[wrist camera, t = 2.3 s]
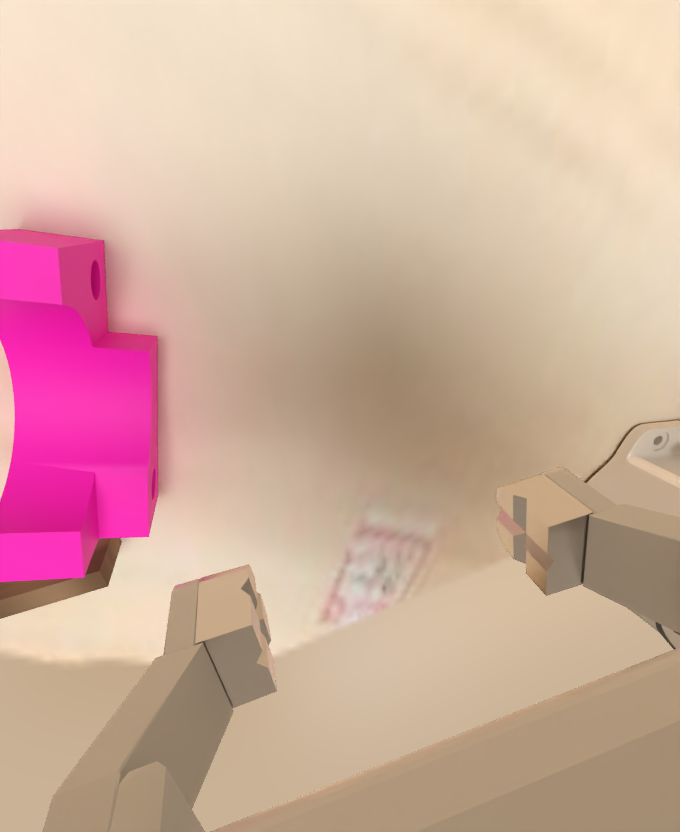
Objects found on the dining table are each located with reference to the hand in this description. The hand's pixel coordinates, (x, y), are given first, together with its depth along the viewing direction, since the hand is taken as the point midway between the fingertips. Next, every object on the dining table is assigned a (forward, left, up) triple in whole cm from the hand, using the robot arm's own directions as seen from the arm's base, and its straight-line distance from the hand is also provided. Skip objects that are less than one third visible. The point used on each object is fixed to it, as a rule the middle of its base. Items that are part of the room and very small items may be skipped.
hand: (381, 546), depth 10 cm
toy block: (+10, 0, -20) cm, 22 cm away
